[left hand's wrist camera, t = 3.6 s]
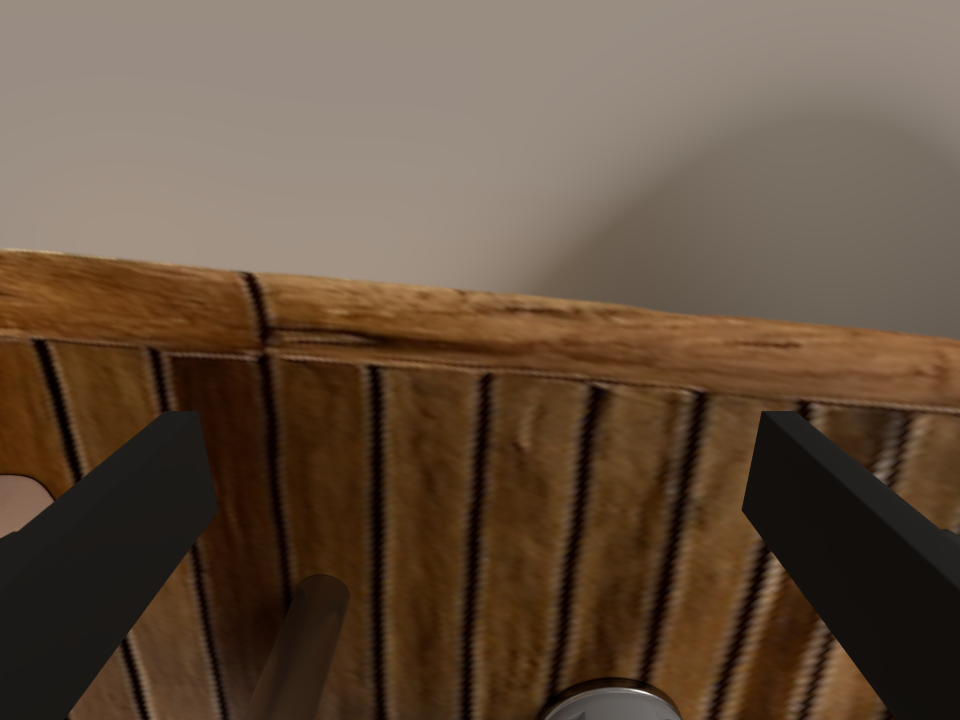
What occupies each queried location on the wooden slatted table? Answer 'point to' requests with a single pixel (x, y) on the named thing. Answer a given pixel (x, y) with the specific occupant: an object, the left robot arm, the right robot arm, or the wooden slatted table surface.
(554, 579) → the wooden slatted table surface
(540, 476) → the wooden slatted table surface
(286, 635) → the bottle
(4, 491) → the anatomical model
